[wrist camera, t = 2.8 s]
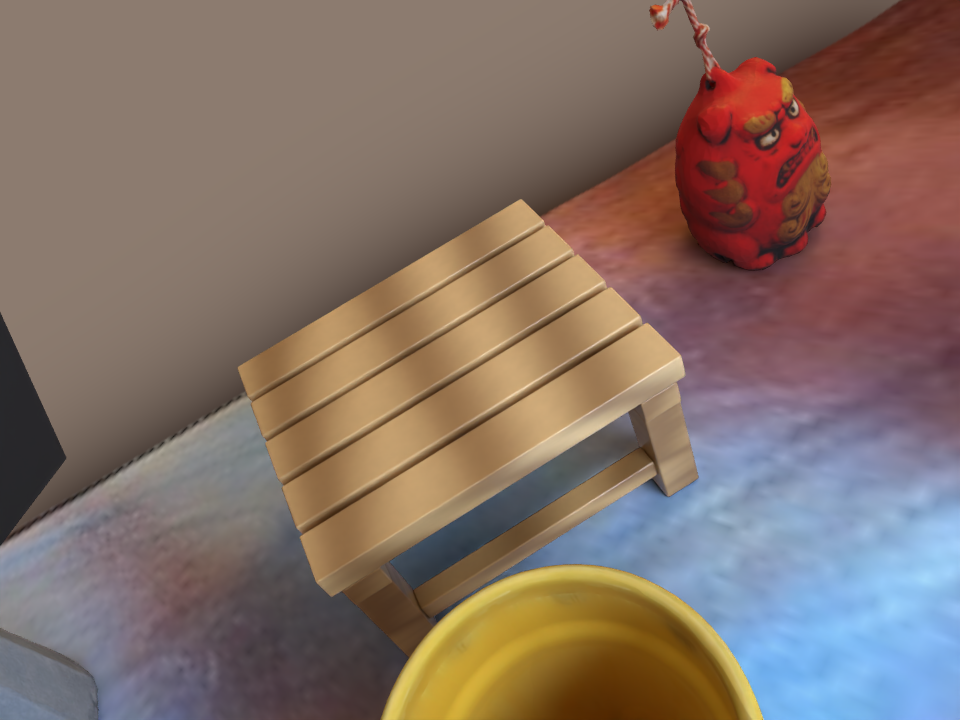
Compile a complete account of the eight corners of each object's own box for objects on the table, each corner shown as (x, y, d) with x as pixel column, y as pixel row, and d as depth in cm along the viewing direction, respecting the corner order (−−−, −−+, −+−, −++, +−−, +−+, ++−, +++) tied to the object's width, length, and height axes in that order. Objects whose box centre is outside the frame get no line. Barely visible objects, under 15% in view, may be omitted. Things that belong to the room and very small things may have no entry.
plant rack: (563, 314, 44) (521, 198, 38) (709, 474, 35) (681, 355, 30) (317, 463, 43) (236, 366, 37) (405, 669, 34) (315, 583, 28)
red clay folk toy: (790, 292, 40) (769, 1, 29) (659, 264, 44) (598, -1, 34) (849, 190, 43) (849, -108, 33) (721, 172, 47) (684, -98, 37)
